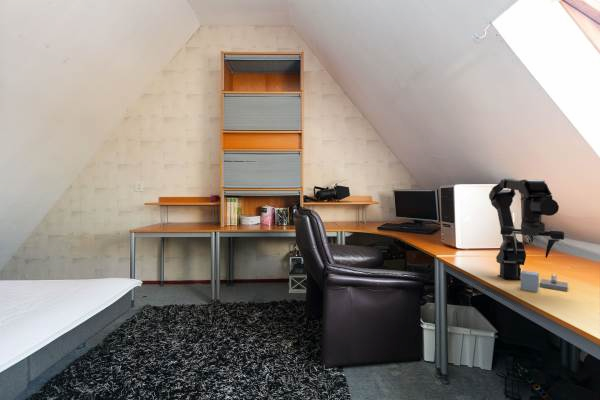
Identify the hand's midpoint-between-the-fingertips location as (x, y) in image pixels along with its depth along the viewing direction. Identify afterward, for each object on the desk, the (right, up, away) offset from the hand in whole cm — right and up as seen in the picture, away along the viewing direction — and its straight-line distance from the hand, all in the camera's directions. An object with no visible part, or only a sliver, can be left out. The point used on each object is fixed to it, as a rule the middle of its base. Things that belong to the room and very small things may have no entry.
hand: (530, 255), depth 118 cm
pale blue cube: (0, -12, 0) cm, 12 cm away
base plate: (+11, -12, +3) cm, 17 cm away
